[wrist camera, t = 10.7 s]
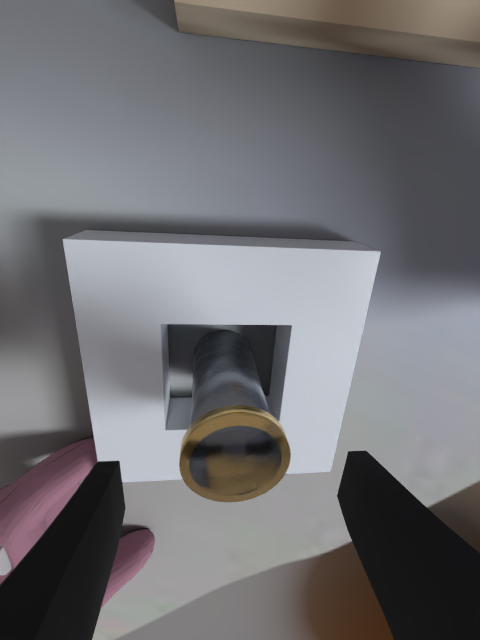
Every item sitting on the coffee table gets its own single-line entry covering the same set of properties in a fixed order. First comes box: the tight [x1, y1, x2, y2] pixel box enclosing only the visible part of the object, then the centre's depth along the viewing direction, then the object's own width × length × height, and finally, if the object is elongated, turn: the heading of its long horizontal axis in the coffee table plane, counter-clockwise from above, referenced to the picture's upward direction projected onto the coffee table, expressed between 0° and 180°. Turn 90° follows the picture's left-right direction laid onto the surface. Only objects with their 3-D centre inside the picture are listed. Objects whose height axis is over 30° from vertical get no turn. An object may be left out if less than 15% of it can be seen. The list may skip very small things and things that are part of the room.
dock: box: [63, 230, 381, 482], centre depth 15 cm, size 12×12×2 cm
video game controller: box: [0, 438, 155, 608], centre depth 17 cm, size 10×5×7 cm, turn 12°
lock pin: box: [179, 330, 291, 502], centre depth 13 cm, size 4×4×7 cm
